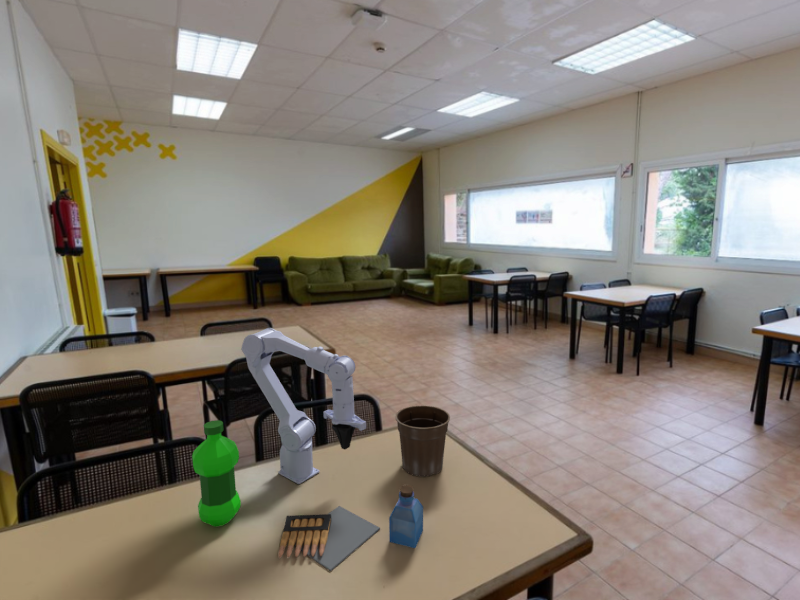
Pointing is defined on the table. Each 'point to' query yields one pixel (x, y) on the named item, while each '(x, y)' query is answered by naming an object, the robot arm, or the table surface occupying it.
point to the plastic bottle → (216, 476)
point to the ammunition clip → (305, 533)
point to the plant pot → (422, 438)
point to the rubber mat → (342, 537)
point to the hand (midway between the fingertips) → (345, 447)
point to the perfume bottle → (406, 519)
